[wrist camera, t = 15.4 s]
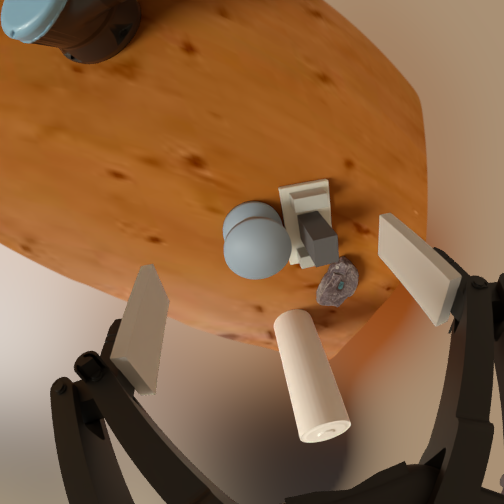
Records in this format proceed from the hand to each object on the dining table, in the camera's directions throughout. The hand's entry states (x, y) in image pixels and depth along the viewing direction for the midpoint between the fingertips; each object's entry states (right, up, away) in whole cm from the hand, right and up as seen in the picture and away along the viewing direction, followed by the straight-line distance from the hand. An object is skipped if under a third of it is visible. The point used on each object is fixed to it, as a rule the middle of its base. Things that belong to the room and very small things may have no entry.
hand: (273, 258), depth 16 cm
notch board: (+9, +6, +38) cm, 40 cm away
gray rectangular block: (+10, +5, +37) cm, 39 cm away
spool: (-1, +5, +37) cm, 38 cm away
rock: (+17, -6, +46) cm, 50 cm away
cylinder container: (+9, -17, +51) cm, 55 cm away
